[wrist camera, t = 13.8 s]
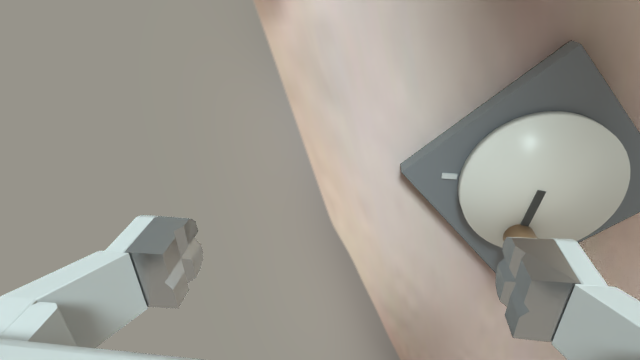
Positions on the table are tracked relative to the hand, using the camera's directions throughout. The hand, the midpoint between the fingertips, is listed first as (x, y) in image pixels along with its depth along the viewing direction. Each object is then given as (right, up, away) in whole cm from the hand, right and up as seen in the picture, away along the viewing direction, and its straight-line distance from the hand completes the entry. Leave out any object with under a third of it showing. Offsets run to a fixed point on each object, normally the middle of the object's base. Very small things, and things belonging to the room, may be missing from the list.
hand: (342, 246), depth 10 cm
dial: (+22, +1, +31) cm, 38 cm away
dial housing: (+23, +3, +33) cm, 40 cm away
